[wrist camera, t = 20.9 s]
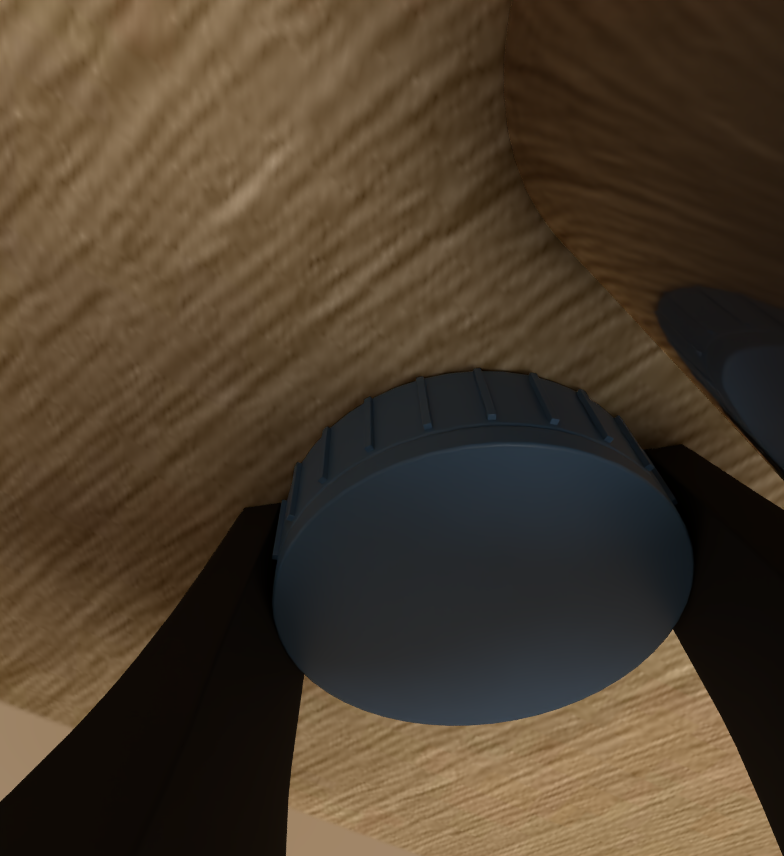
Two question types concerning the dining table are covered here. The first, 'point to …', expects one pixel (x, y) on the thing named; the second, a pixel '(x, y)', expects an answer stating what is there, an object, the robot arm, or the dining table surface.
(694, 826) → the dining table surface
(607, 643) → the lid
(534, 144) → the jar
